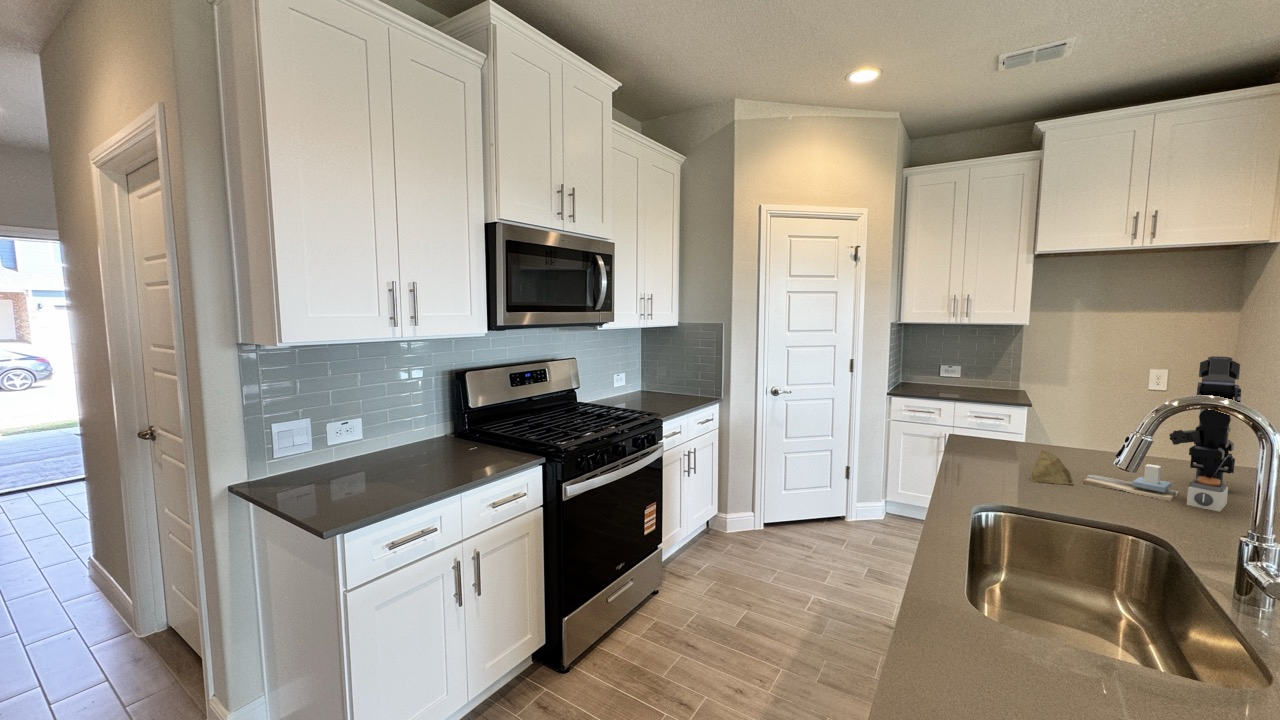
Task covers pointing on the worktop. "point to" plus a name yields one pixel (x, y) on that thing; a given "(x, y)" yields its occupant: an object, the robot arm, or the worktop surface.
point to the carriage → (1152, 479)
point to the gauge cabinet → (1207, 496)
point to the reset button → (1208, 481)
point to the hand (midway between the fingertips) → (1209, 477)
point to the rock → (1051, 470)
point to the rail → (1129, 487)
